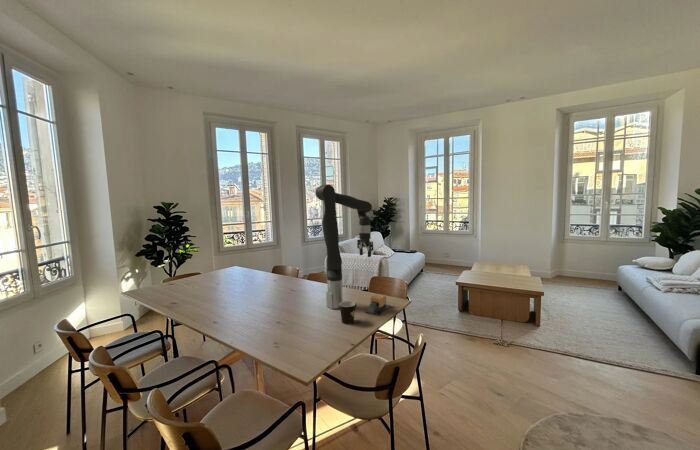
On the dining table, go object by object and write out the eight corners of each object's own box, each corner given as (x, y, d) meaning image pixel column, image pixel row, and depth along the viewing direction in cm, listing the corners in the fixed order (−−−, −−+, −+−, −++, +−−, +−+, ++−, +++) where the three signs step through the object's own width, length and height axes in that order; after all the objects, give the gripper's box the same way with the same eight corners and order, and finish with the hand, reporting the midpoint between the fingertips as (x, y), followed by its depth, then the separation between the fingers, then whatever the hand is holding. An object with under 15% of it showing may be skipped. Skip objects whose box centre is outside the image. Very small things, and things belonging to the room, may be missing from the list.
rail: (379, 315, 173) (378, 305, 173) (365, 312, 178) (365, 302, 177) (390, 306, 187) (390, 297, 186) (377, 304, 191) (377, 295, 191)
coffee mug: (344, 326, 160) (343, 307, 159) (337, 320, 168) (336, 303, 167) (363, 321, 165) (363, 303, 164) (355, 316, 173) (355, 299, 172)
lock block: (376, 302, 187) (376, 294, 186) (385, 303, 183) (385, 295, 183) (370, 305, 181) (370, 297, 180) (380, 307, 178) (380, 299, 177)
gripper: (353, 231, 206) (354, 255, 207) (367, 233, 194) (367, 258, 196) (362, 230, 210) (363, 253, 211) (376, 232, 198) (376, 256, 200)
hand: (365, 256), depth 204 cm, fingers open, 8 cm apart
